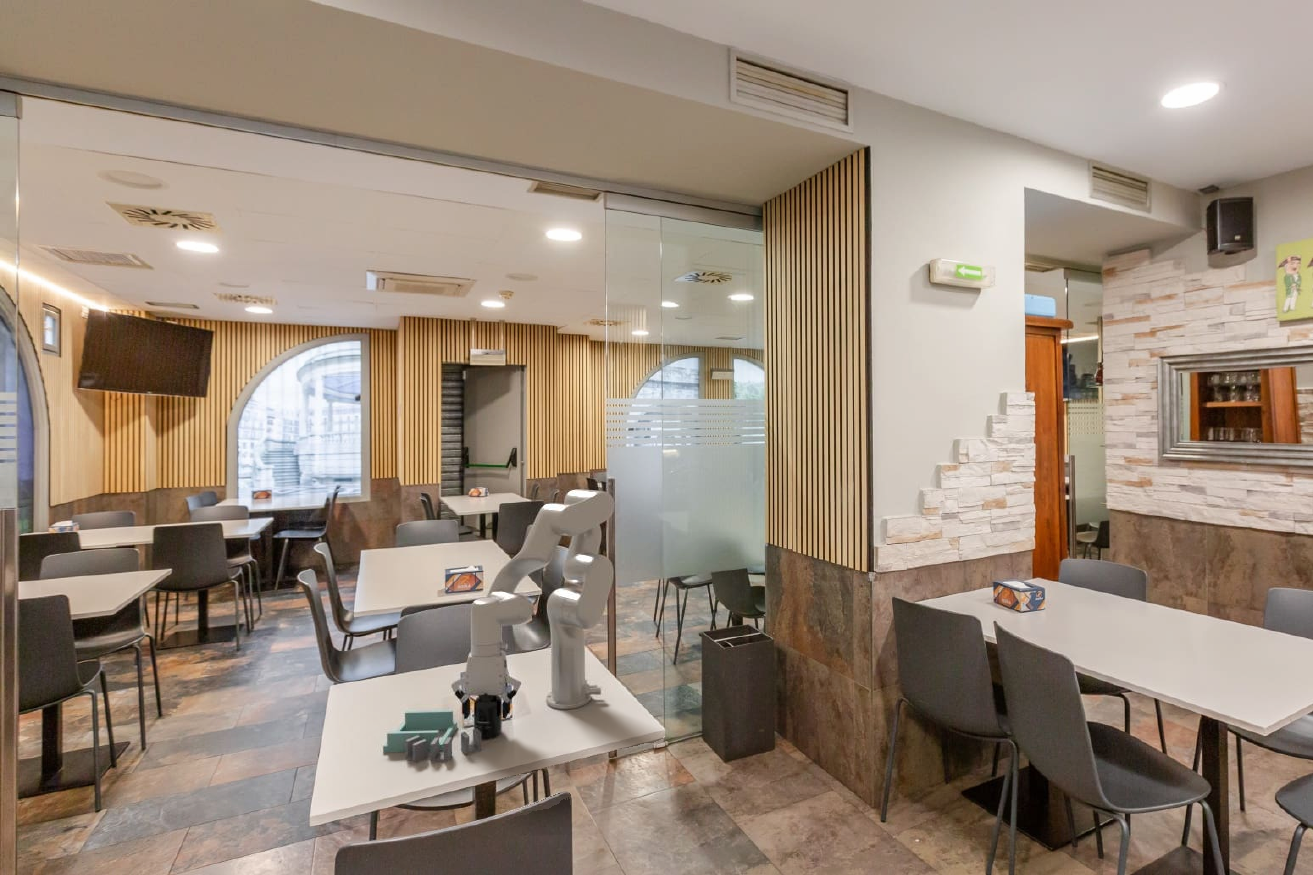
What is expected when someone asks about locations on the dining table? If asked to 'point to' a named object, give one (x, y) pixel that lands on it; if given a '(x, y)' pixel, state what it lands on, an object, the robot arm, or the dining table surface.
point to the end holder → (421, 722)
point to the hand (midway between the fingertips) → (486, 716)
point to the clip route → (418, 748)
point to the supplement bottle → (488, 715)
